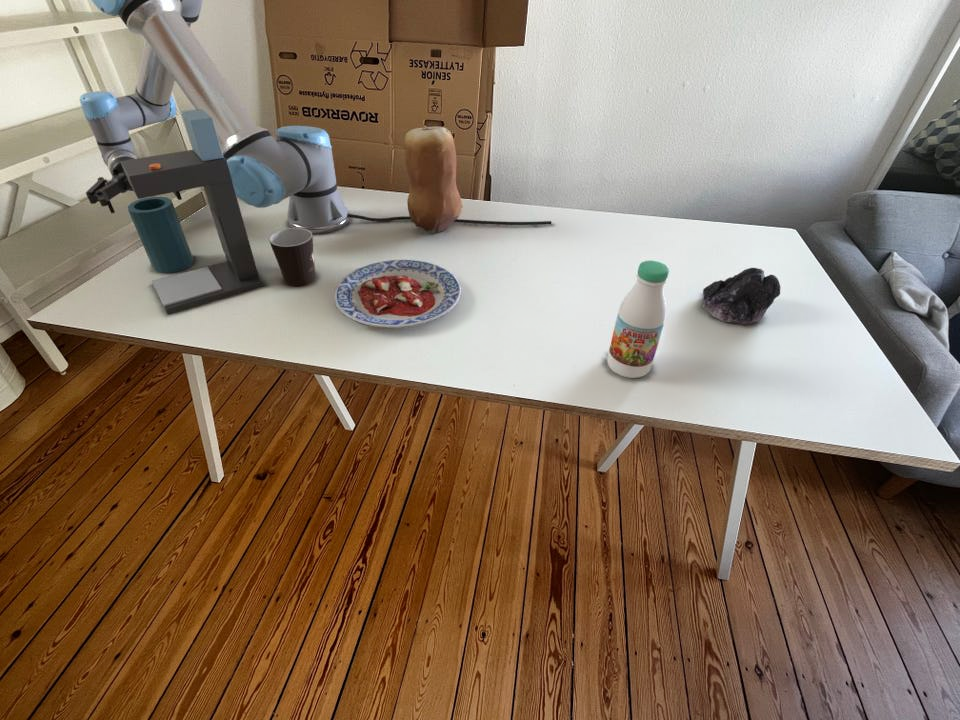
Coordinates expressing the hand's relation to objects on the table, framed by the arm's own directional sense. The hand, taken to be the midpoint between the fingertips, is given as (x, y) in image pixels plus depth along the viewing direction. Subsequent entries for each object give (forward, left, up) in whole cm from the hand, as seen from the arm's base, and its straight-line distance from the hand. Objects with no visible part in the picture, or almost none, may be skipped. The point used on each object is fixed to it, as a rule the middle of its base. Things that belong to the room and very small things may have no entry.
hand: (145, 200), depth 116 cm
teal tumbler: (-5, +8, -11) cm, 15 cm away
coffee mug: (-34, +16, -12) cm, 40 cm away
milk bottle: (-96, +52, -12) cm, 110 cm away
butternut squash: (-64, -5, -12) cm, 66 cm away
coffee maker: (-15, +18, -11) cm, 27 cm away
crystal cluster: (-124, +36, -12) cm, 130 cm away
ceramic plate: (-55, +27, -12) cm, 63 cm away
